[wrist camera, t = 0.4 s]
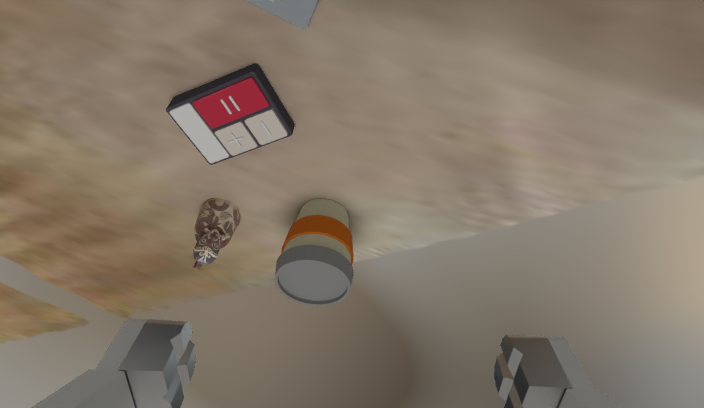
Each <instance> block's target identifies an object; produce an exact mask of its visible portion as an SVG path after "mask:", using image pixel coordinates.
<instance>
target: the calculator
mask: <svg viewBox="0 0 704 408" xmlns="http://www.w3.org/2000/svg"><path fill="white" fill-rule="evenodd" d="M166 111H167V112H168V114H169V115H170V116H171V117H172V119H173V120H174V121H175V122H176V123H177V125H178V126H179V127H180V128H181V130H182V131H183V132H184V133H185V135H186V136H187V137H188V138H189V140H190V141H191V142H192V143H193V144H194V146H195V147H196V148H197V149H198V151H199V152H200V153H201V154H202V156H203V157H204V158H205V159H206V161H207V162H208V163H209V164H211V165H212V164H215V163H218V162H221V161H223V160H226V159H229V158H232V157H234V156H237V155H240V154H242V153H245V152H248V151H251V150H253V149H256V148H259V147H261V146H264V145H267V144H270V143H272V142H275V141H278V140H280V139H283V138H286V137H289V136H291V135H292V133H293V129H294V122H293V121H292V119H291V117H290V116H289V114H288V112H287V111H286V109H285V107H284V106H283V104H282V102H281V101H280V99H279V98H278V96H277V94H276V93H275V91H274V89H273V88H272V86H271V84H270V83H269V81H268V79H267V78H266V76H265V74H264V73H263V71H262V70H261V68H260V66H259V65H258V64H252V65H250V66H247V67H245V68H243V69H240V70H238V71H235V72H233V73H231V74H228V75H226V76H224V77H221V78H219V79H217V80H214V81H212V82H210V83H207V84H205V85H203V86H201V87H198V88H194V89H192V90H189V91H187V92H185V93H182V94H180V95H177V96H175V97H174V98H173V99H172V101H171V102H170V104H169V105H168V107H167V108H166Z"/></svg>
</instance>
